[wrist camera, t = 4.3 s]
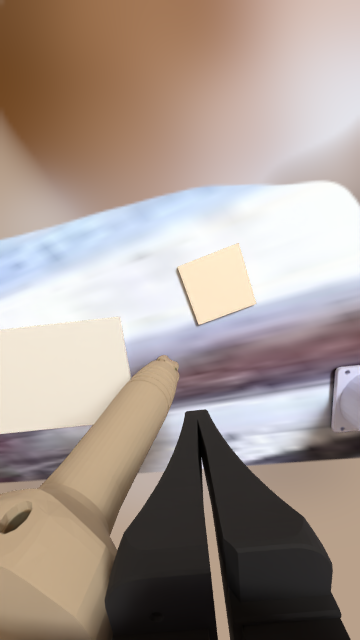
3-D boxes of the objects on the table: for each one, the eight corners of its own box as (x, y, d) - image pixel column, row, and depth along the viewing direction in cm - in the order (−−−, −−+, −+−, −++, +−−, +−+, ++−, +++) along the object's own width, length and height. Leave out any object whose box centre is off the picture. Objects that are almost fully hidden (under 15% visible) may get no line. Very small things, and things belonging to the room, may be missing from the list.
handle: (196, 391, 19) (118, 724, 5) (140, 386, 21) (-49, 628, 6) (195, 347, 18) (90, 603, 4) (135, 345, 20) (-99, 524, 5)
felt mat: (120, 316, 19) (119, 317, 18) (138, 418, 21) (138, 420, 21) (-71, 337, 19) (-75, 338, 19) (-31, 435, 21) (-34, 437, 21)
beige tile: (235, 245, 18) (238, 242, 17) (252, 302, 19) (256, 303, 18) (177, 267, 18) (177, 266, 17) (197, 322, 19) (198, 324, 18)
